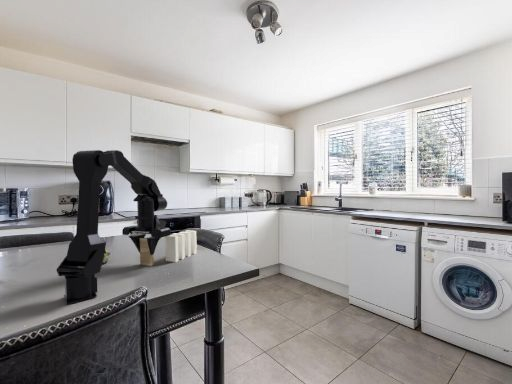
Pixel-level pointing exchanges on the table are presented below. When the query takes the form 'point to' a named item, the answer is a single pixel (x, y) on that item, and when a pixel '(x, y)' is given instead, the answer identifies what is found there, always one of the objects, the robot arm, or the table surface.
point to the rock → (103, 259)
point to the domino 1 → (145, 253)
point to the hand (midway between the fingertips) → (146, 254)
